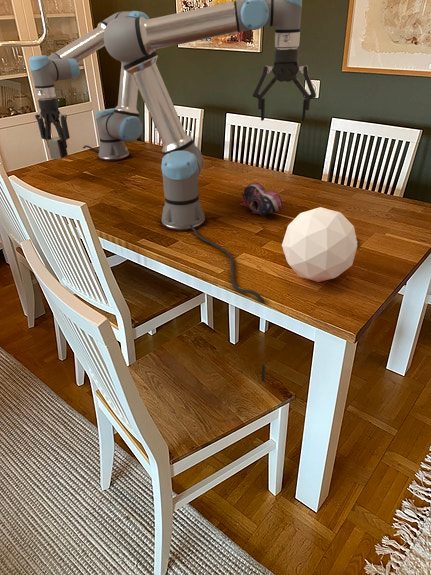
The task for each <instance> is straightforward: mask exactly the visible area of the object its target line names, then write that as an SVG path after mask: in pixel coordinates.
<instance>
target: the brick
mask: <svg viewBox="0 0 431 575" xmlns="http://www.w3.org/2000/svg"><path fill="white" fill-rule="evenodd" d="M60 140H61V139H60V137H59V136H52V137H51V139H49V140H47V141H46V143H47V142H48V145H47V147H49V148H48V150H49V155H50V159H51V160H62V159H64V158H66V157H68V155H69V154H68V148H66V151H67V156H65V157H63V156H62V151H61V146H60Z"/></svg>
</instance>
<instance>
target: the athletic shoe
mask: <svg viewBox="0 0 431 575" xmlns="http://www.w3.org/2000/svg"><path fill="white" fill-rule="evenodd" d="M241 197H242V199H243V201H238V203H239V204H241V205H245V206H246V207H247V208H248V210H249V211H250V210H251V213H252V214H255V215H260V217H266V216H267V215H270V214H274V213H275V212H279V211H282V210H283V209H284V205H283V201H282V198H281V196H280V195H279V194H278V192H277V191H274V190H269V191H267V190H266V189H265V187H264V186H263V185H262V184H261V183H258V182H251V183H249V184H247V186H246V187H245V188H244V190H243V191H242V192H241Z"/></svg>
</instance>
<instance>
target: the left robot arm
mask: <svg viewBox="0 0 431 575" xmlns="http://www.w3.org/2000/svg"><path fill="white" fill-rule="evenodd" d="M126 16H134V17H143V18H145V19H146V20H148V19H150V17H149V15H148V14H146V13H145V12H143V11H138V10H131V11H129V10H128V11H124V10H123V11H118V12H115V13H113V14H112V15H110V16H108V17H107V18H105V19H103V20H101V21H100V22H99V23H98V24H97V27H96V28H94V29H92V30H90V31H88V32H87V33H85V34H84V35H82V36H80V37H78V38H77V39H75V40H74V41H72V42H70V43H68V44H67V45H65V46H64V47H62V48H60V49H59V50H57V51H55V52H53V53H52V54H50V55H45V54H41V55H32V56H30V57H29V58H28V64H29V69H30V73H31V78H32V81H33V86H34V90H35V94H36V98H37V99H38V100H37V104H38V108H39V109H40V110H39V111H40V113H37V114H35V115H34V117H35V119H36V121H37V125H38V129H39V134H40V138H41V139H42V140H45V141H46V144H47V147H48V142H47V140H49V139H51V138H52V125H53V126H54V128H55V130H56V132H57V134H58V137H60V139H61V140H60V146H61V151H62V156H63V157H64V158H66V157H68V156H67V153H68V150H67V151H66V149H68V144H67V140H69V139H70V138H71V136H70V131H69V127H68V126H69V125H68V121H67V118H68V115H67V114H63V113H61V111H60V110H59V102H58V99H57V94H56V88H55V82H58V81H66V80H75V79H78V78H79V77H80V75H81V67H80V64H79V62H81V61H83V60H84V59H86V58H88V57H89V56H91V55H92V54H94V53H96V52H97V51H99V50H101V49H102V48H104V47H105V44H104V31H105V28H106V26H107V25H108V24H109V22H110V21H112V20H113V19H116V18H120V17H126ZM120 65H121V66H120V67H121V68H120V76H119V88H118V100H117V105H116V106H115V107H114V108H107V109H100V110H97V111H96V113H95V121H96V126H97V132H98V139H99V148H96V147H92V146H90V145H88V144H87V145H85V144H84V146H83V147H82V149H86V148H88V149H89V150H92V151H96V152H97V153H98V159H99V160H101V161H102V162H103V161H104V162H116V161H122V160H126V159H128V158H129V157H130V151H129V150H128V146H126V144H125V142H128V143H132V142H136V141H137V140H138V139H139V138H140V137H141V135H142V132H143V123H142V121H141V119H140V112H139V111H138V108H137V107H138V96H139V89H138V87H137V85H136V82H135V80H134V78H133V76H132V75H131V74H130V73H128V72H126V71H125V70H124V67H123V65H122V63H121V64H120ZM48 149H49V147H48ZM65 156H66V157H65Z"/></svg>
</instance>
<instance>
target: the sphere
mask: <svg viewBox="0 0 431 575" xmlns="http://www.w3.org/2000/svg"><path fill="white" fill-rule="evenodd" d="M356 236H357V235H356V230H355V226H354V225H353V223H351V222H350V221H349V220H348V219H347V217H346V216H344V214H343V213H342V212H340V211H337V210H332V209H329V208H325V207H323V206H319V207H317V208H313V209H310V210H307V211H303V212H299V214H298V215H297V216H296V217H295V218H294V219H293V220H292V221H291V222H290V223H289V224H288V225H287V228H286V231H285V234H284V237H283V240H282V243H281V247H282V250H283V254H284V257H285V260H286V263H287V264H288V265H289V267H290V268H291V269H292V270H293V271H294V273H295V274H296V275H297V276H298V277H299V278H301V279H306V280H310V281H314V282H317V283H320V282H324V281H329V280H333V279H335V278H337V277H339V276H340V275H342V274H343V273H344V272H345V271H347V270H349V268H351V267H352V266H353V263H354V260H355V257H356V252H357V249H358V246H357V245H358V243H357V241H358V240H357V241H356V239H357V238H356Z"/></svg>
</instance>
